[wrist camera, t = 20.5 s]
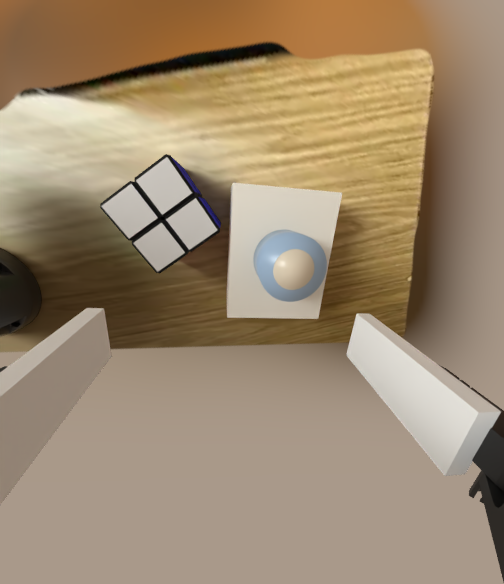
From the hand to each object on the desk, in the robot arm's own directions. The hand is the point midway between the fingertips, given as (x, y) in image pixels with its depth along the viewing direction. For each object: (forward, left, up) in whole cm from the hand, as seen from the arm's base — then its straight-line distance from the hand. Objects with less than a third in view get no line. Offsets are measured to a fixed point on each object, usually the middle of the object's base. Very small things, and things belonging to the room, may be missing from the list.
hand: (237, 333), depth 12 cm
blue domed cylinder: (+7, 0, -20) cm, 21 cm away
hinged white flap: (+7, 0, -21) cm, 22 cm away
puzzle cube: (-8, +4, -29) cm, 30 cm away
